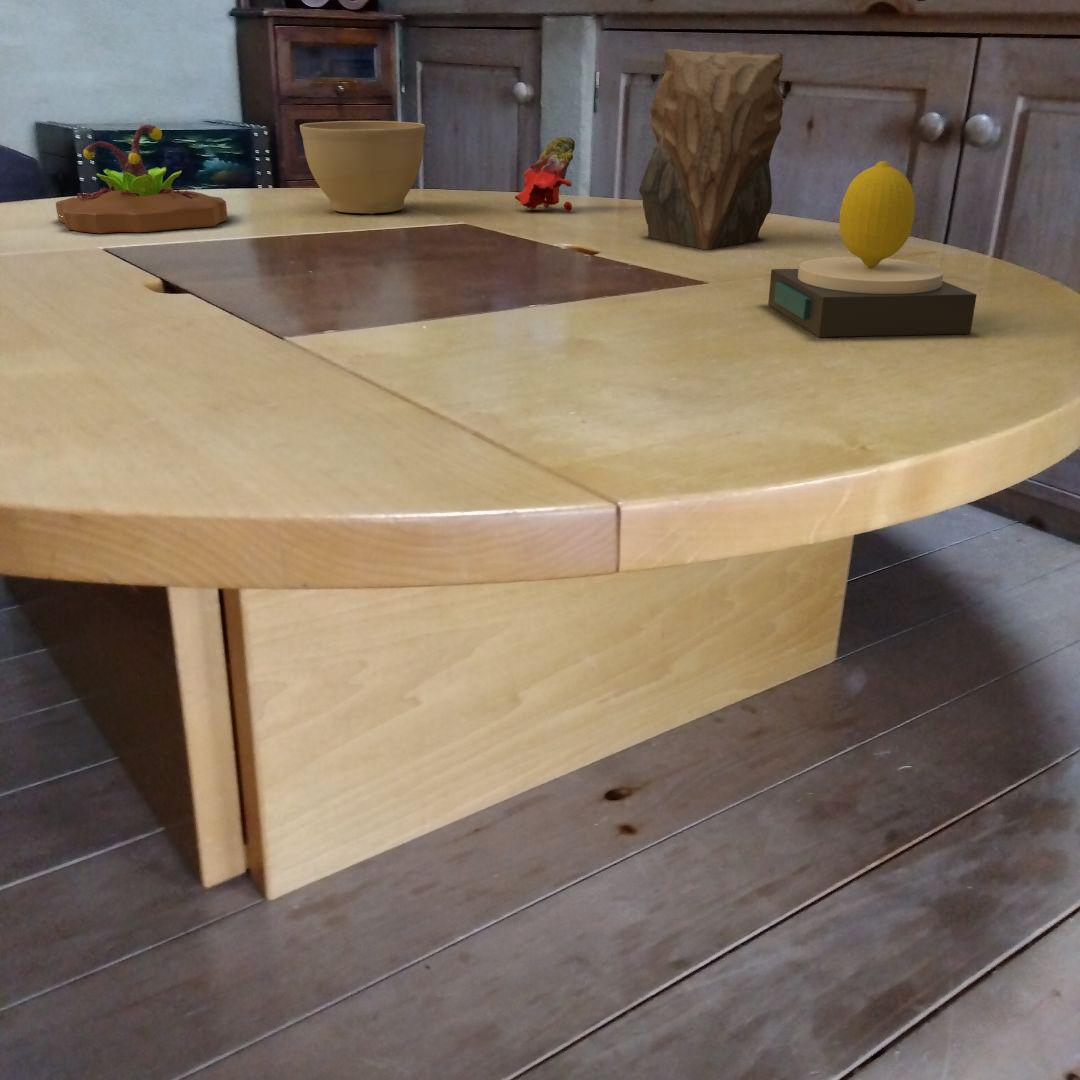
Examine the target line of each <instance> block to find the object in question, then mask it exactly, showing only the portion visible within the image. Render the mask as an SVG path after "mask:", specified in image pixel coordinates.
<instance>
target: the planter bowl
mask: <svg viewBox="0 0 1080 1080" xmlns="http://www.w3.org/2000/svg"><path fill="white" fill-rule="evenodd" d="M299 130H300V135H301V136H302V143H303V150H304V155H305V158H306V162H307V165H308V168H309V170H310V173H311V174H312V176H313V178H314V180H315V182H316V183H317V185H318V187H319V188H320V190H321V191H322V192H323V193H324V195H325V196H326V197H327V198H328V199H329V203H330V207H331V210H333V211H335V212H339V213H345V214H346V213H349V214H369V215H374V214H383V213H393V212H398V211H401V210H402V209H404V206H405V199H406V197H407V196H408V194H409V193H410V191H411V190H412V188H413V186H414V184H415V181H416V180H417V177H418V174H419V172H420V169H421V166H422V161H423V155H424V143H425V142H424V139H425V138H424V137H425V133H426V124H424V123H420V122H408V121H392V120H338V121H337V120H336V121H321V122H319V121H318V122H308V123H302V124H300V125H299Z"/></svg>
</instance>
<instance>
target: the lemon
mask: <svg viewBox="0 0 1080 1080" xmlns="http://www.w3.org/2000/svg"><path fill="white" fill-rule="evenodd" d="M915 205H916V204H915V196H914V191H913V187H912V185H911V183H910V181H909V180H908V178H907V177H906V176H905V174H903V173H902V172H901V171H900V170H898V169H897V168H895V167H892V166H891V165H890V163H889V161H885V160H881V161H878V162H877V163H876V164H875V165H874V166H871V167H869V168H866V169H865V170H863V171H861V172H860V173H859V174H858V175H856V176H855V177H854V178H853V180H851V182H850V183H849V185H848V187H847V189H846V191H845V193H844V196H843V199H842V202H841V205H840V211H839V218H838V219H839V234H840V237H841V240H842V242H843V244H844V247H845V248H846V249H847V250H848V251H849V252H850V253H851V254H852V255H853V256H854V257H859V258H860V259H861V260H862V262H863V263H864V264H865V266H866V267H869V268H872V267H875V266H876V265H877V264H878V263H879V262H880V261H881V260H883V259H885V258H887V259H888V258H890V257H892V256H893V255H895V254H896V253H898V251H900V250H901V248H902V247H903V246H904V245H905V243H906V242H907V241H908V239H909V237H910V235H911V232H912V230H913V229H912V228H913V227H914V222H915V221H914V220H915V210H916V208H915Z"/></svg>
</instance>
